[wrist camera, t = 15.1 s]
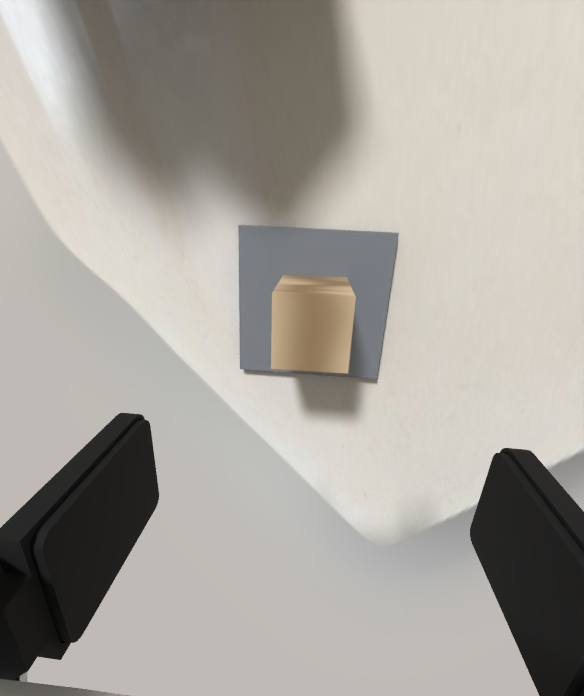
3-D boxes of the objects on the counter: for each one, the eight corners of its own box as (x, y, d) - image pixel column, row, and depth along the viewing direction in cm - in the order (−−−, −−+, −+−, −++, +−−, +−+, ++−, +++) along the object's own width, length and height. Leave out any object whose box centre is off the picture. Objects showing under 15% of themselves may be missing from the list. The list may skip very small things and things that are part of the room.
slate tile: (396, 232, 26) (398, 233, 25) (375, 375, 30) (376, 378, 30) (240, 224, 27) (238, 225, 26) (242, 365, 31) (240, 369, 30)
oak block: (346, 277, 27) (356, 296, 20) (341, 337, 29) (348, 373, 22) (283, 274, 27) (272, 292, 21) (281, 334, 29) (271, 368, 22)
